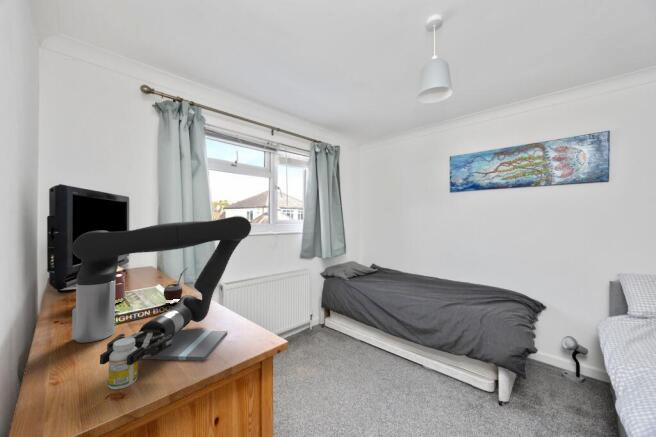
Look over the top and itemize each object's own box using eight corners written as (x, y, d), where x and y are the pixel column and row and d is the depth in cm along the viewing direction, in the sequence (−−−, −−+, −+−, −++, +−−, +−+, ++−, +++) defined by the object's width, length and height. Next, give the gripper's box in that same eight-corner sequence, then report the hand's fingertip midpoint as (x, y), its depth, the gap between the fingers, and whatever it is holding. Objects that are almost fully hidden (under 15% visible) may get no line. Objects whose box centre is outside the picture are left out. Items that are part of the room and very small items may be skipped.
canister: (122, 296, 122) (123, 258, 122) (127, 303, 113) (128, 262, 113) (84, 302, 113) (85, 261, 112) (86, 310, 103) (87, 266, 103)
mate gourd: (159, 306, 111) (160, 270, 111) (170, 300, 119) (171, 267, 118) (177, 306, 111) (178, 271, 111) (187, 300, 119) (188, 267, 119)
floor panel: (137, 358, 71) (137, 355, 71) (172, 332, 87) (172, 329, 87) (204, 360, 71) (204, 356, 71) (227, 334, 87) (227, 330, 87)
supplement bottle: (117, 392, 57) (118, 349, 57) (102, 386, 59) (103, 344, 59) (143, 378, 62) (143, 338, 62) (128, 373, 64) (129, 334, 64)
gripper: (138, 314, 75) (82, 342, 58) (188, 315, 75) (147, 344, 58) (137, 340, 75) (82, 376, 58) (187, 342, 75) (147, 378, 58)
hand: (115, 360), depth 58 cm, fingers closed on supplement bottle, 5 cm apart
